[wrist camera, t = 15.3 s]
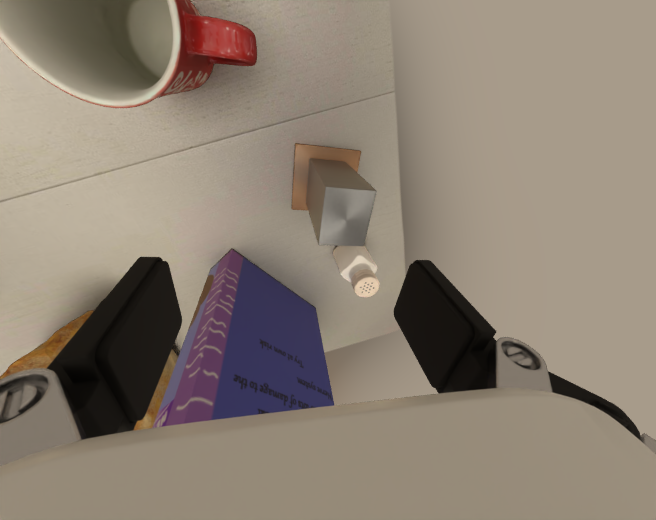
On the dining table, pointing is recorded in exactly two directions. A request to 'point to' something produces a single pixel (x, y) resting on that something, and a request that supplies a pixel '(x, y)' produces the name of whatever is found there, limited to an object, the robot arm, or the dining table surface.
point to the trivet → (302, 167)
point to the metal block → (338, 203)
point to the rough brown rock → (57, 342)
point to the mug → (122, 46)
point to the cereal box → (246, 350)
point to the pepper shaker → (357, 269)
